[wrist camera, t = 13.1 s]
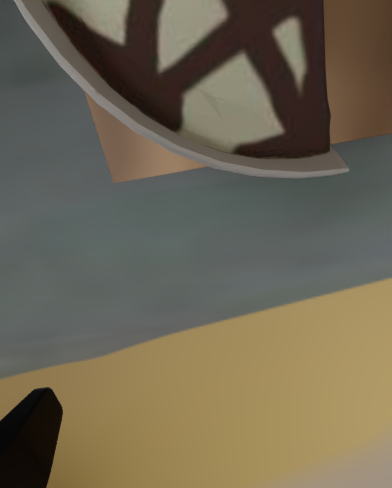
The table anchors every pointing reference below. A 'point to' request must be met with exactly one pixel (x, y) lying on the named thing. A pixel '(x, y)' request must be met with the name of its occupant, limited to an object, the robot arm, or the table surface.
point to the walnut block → (338, 91)
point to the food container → (204, 76)
